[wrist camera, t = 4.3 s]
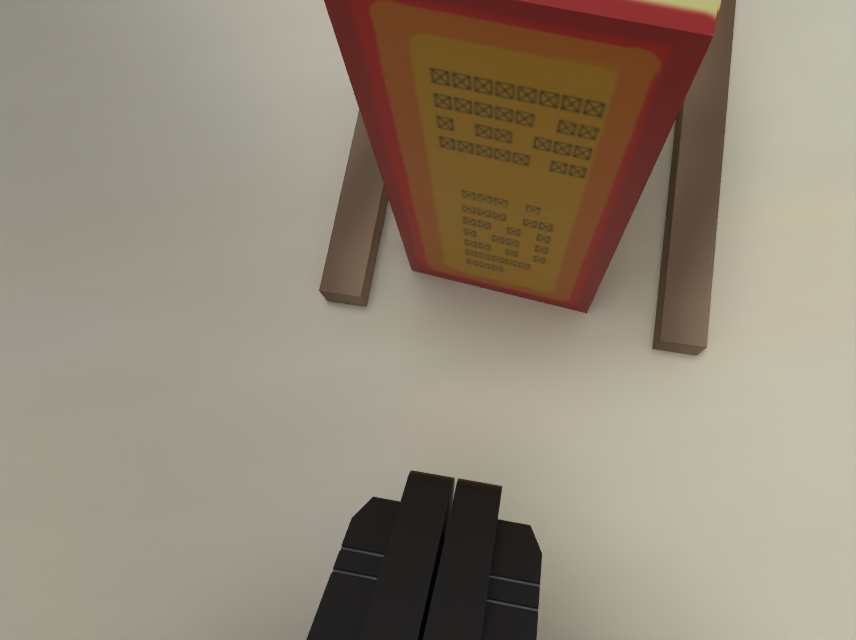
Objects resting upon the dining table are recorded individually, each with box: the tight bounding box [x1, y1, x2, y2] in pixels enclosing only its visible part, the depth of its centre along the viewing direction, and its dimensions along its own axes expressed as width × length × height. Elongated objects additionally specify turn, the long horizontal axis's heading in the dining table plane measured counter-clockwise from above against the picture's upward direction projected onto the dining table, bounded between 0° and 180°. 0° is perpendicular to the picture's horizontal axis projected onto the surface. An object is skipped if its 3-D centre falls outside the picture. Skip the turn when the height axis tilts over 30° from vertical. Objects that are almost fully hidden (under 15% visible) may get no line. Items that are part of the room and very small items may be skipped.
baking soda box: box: [324, 0, 721, 313], centre depth 20 cm, size 10×6×16 cm
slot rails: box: [319, 0, 736, 355], centre depth 27 cm, size 13×15×1 cm
